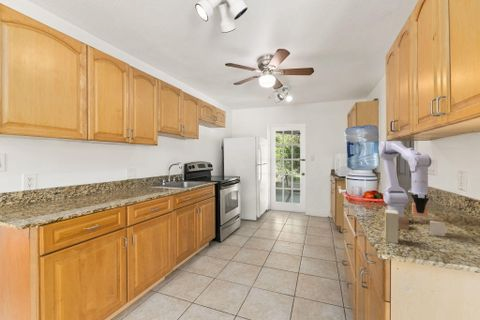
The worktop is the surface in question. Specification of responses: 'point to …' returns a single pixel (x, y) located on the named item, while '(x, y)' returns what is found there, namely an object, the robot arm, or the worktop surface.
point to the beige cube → (437, 228)
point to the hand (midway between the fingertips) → (419, 211)
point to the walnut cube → (403, 223)
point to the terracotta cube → (419, 213)
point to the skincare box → (391, 226)
